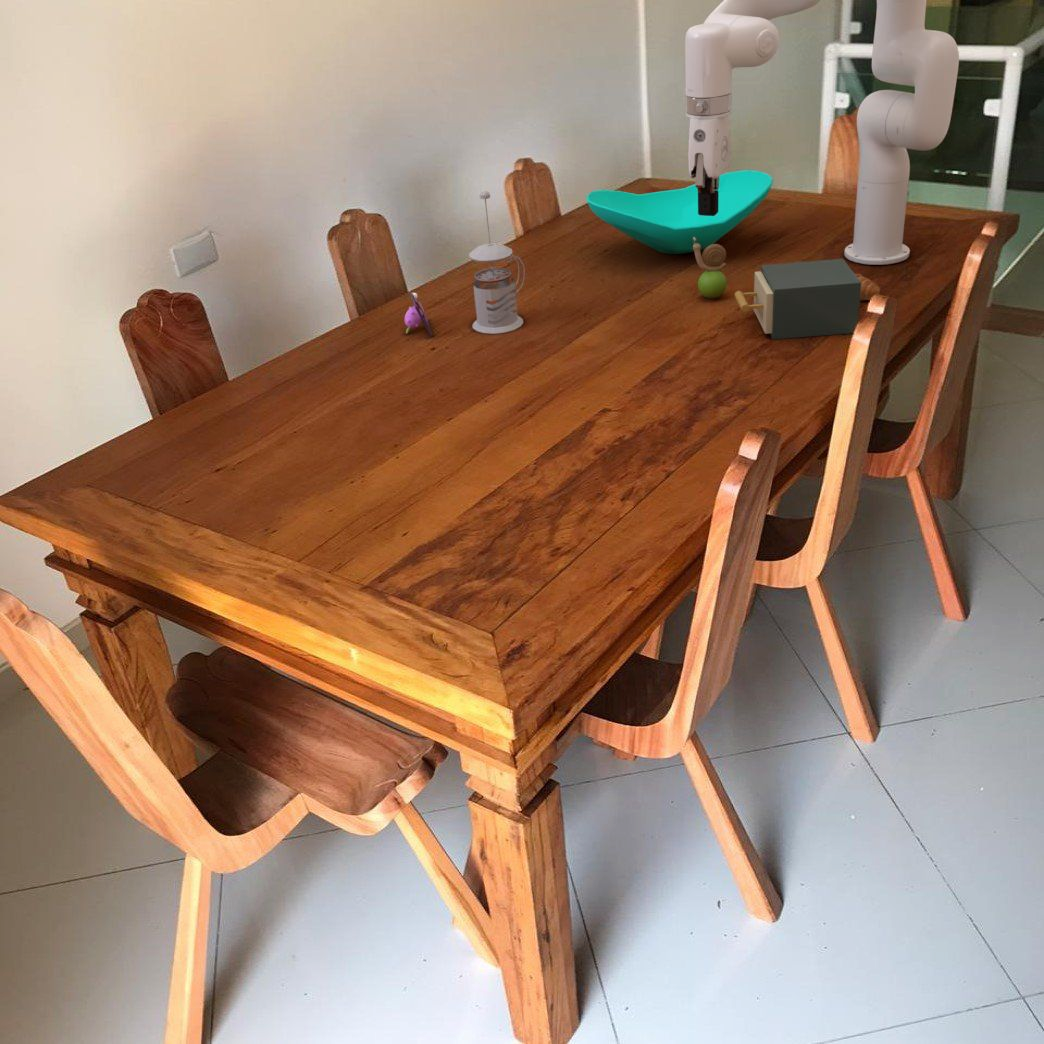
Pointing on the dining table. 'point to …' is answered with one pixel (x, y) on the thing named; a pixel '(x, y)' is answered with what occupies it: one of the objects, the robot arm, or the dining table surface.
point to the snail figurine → (711, 270)
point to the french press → (498, 314)
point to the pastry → (867, 288)
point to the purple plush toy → (415, 315)
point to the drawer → (759, 301)
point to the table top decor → (681, 212)
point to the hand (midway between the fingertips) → (708, 214)
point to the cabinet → (813, 298)
